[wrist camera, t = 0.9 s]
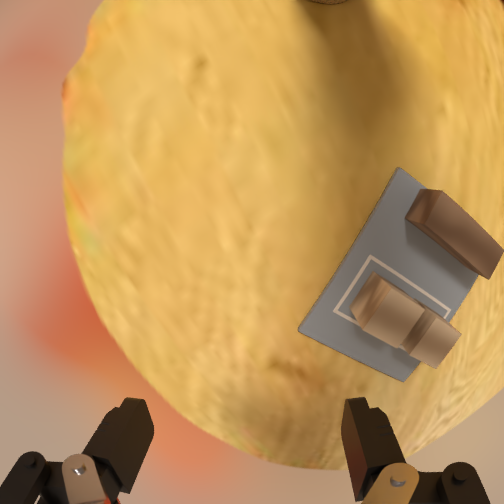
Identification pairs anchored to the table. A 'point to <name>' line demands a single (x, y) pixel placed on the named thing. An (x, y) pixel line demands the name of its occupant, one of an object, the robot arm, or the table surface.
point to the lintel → (455, 231)
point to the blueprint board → (394, 270)
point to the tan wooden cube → (385, 310)
